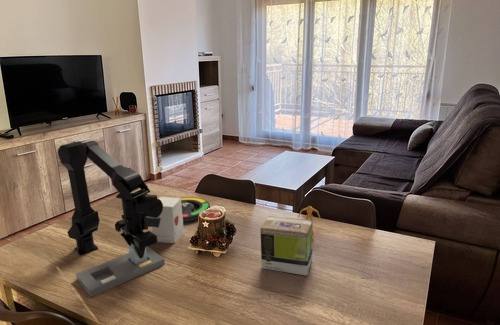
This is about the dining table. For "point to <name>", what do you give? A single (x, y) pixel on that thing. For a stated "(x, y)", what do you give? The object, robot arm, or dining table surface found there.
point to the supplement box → (170, 221)
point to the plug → (136, 256)
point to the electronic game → (192, 207)
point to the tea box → (286, 244)
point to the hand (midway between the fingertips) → (138, 255)
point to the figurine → (309, 212)
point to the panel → (116, 272)
